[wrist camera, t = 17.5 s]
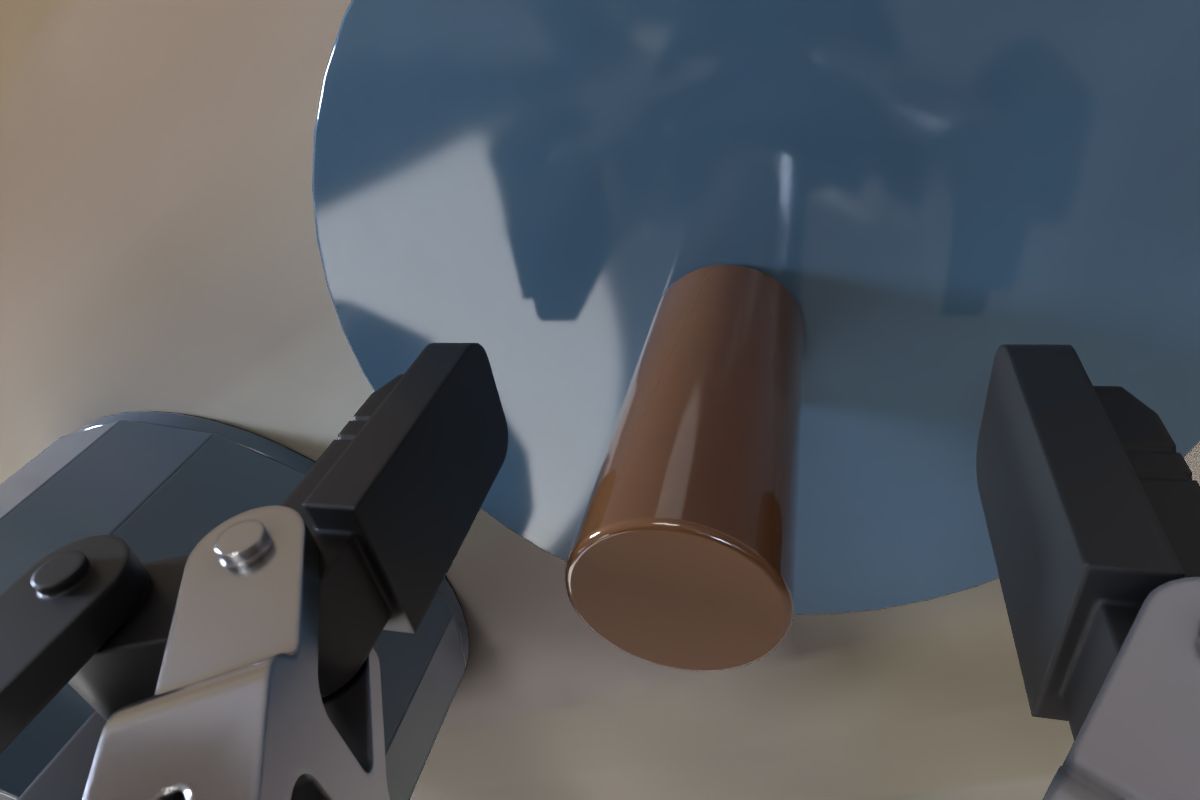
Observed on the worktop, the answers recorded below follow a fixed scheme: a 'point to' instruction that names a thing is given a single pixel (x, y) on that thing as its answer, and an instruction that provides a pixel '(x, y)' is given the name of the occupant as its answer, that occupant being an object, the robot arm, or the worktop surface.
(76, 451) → the pot
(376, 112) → the lid
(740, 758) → the worktop surface
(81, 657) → the robot arm
